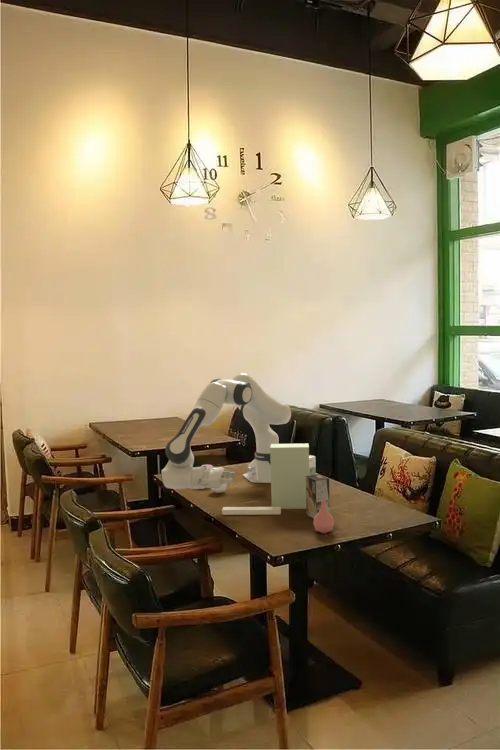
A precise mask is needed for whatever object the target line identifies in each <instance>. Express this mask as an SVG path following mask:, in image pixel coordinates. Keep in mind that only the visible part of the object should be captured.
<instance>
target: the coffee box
mask: <svg viewBox="0 0 500 750" xmlns="http://www.w3.org/2000/svg"><path fill="white" fill-rule="evenodd" d="M305 477H306V509H305V511H306V515H307V516H308V517H310V518H312V519H314V517H315V516H316V515H317V514H318V512H319V511H320V509H321V501H322V500H325V507H326V509H327V511H328V512H329V513H330V514H331V508H330V505H331V504H330V499H331V498H330V478H328V477H326V476H323V475H321V474H319V473H318V474H317V473H316V475H310V476H305Z"/></svg>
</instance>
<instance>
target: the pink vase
mask: <svg viewBox="0 0 500 750" xmlns="http://www.w3.org/2000/svg"><path fill="white" fill-rule="evenodd" d="M312 522H313V523H312V524H313V528H314V530H315V531H316V532H320V534H327V533H328V532H331V531H333V529H334V526H335V521H334V517H333V516H332V514H331V512H330V513H329V512H328V511H327V509H326V507H325V500H322V501H321V509H320V511H319V512H318V514H317V515H316V516H315V517H314V518H313V521H312Z"/></svg>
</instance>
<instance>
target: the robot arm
mask: <svg viewBox="0 0 500 750" xmlns="http://www.w3.org/2000/svg"><path fill="white" fill-rule="evenodd" d="M224 404H225V405H232V406H233V405H236V406H243V408H242V415H243V418H244V419H245V421H247V422H248V423H249V425H250V426H251V427H252V430H253V432H254V436H255V443H256V445H255V446H256V451H254V459H253V460H252V461H251V462H250V463H248V465H247V469H246V471H247V472H246V473H243V474H242V477H243V476H244V477H243V478H245V479H246V480H248V481H249V482H251V483H255V484H256V483H258V484H259V483H262V484H271V460H270V446H271V444H280V443H279V441H280V440H279V434H277V433H276V432H275V431H274V430H273V429H272V427H271V426H270V425H277V426H278V425H285V424H287V423H289V422H290V420H291V417H292V409H291V407H290V405H289V404H286V403H284V402H281V401H280V400H278V399H277V398H274V397H273V396H271V395H270V394H268V393H267V392H266V391H264V389H263V388H262V387H261V385H259V383H258V382H257V381H256V380H255V379H254V377H252V376H251V375H249V374H247V373H245V372H241V373H238V374H236V375H235V376H234V377H233V379H221V378H216V379H212V380H211V381H210V382H209V383H208V384H207V385H206V387H204V388H203V390H202V392H201V394H200V395H199V397H198V399H197V400H196V402H195V404H194V406H193V407H192V410H191V411H190V413H189V414H188V416H187V418H186V419H185V421H184V423H183V425H182V426H181V428H180V429H179V431H178V432H177V434H176V435H175V436H174V437H173V438H171V439H170V440H169V441H168V442H167V444H166V446H165V456H166V457H167V459H168V462H167V464H165V466H164V468H163V469H161V471H160V478H161V482H162V484H163V486H164V487H165V488H166V489H173V490H174V489H175V490H184V489H192V490H197V489H198V490H199V489H203V490H205V489H211V488H220V486H221V484H227V485H228V484H232V483H234V482H233V481H234V479H233V478H234V477H235V476H236V472H235V471H229V470H226V468H225V467H222V466H213V467H207V466H202V465H201V467H200V466H195V467H194V464H195V463H194V462H195V456H194V454H193V451H192V449H191V445H192V444H191V443H192V441H193V439H194V437H195V435H196V434H197V432H198V431H199V429H200V428H201V426H209V425H211V424H214V422H215V421H216V419H217V418H218V416H219V414H220V412H221V410H222V408H223V405H224ZM226 477H227V478H226ZM224 478H225V479H224Z"/></svg>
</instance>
